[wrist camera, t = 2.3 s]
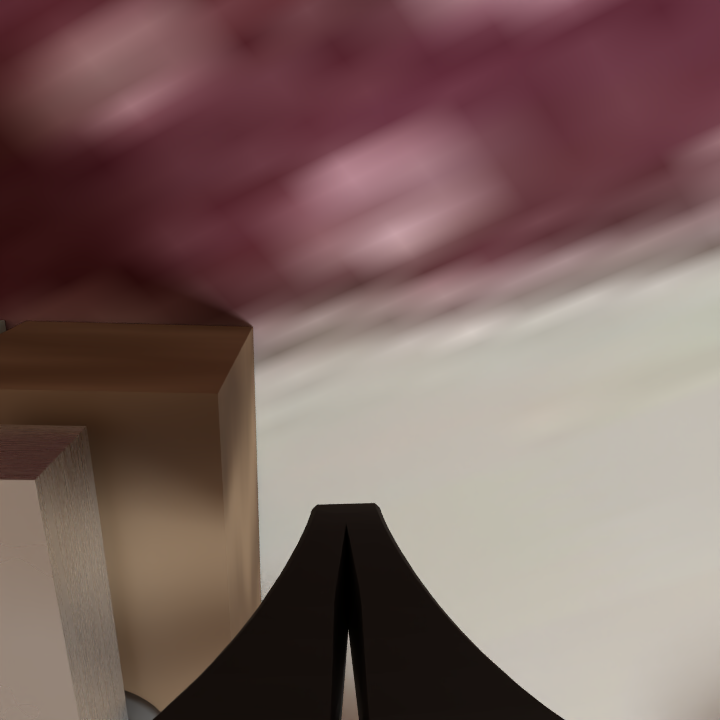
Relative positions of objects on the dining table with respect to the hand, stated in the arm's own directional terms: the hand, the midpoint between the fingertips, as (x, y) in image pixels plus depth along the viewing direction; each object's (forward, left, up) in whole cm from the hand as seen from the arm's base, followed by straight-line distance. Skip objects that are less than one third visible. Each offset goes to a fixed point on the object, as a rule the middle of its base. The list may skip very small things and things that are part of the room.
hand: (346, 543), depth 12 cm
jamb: (-5, +6, -6) cm, 10 cm away
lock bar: (-3, +6, 0) cm, 7 cm away
